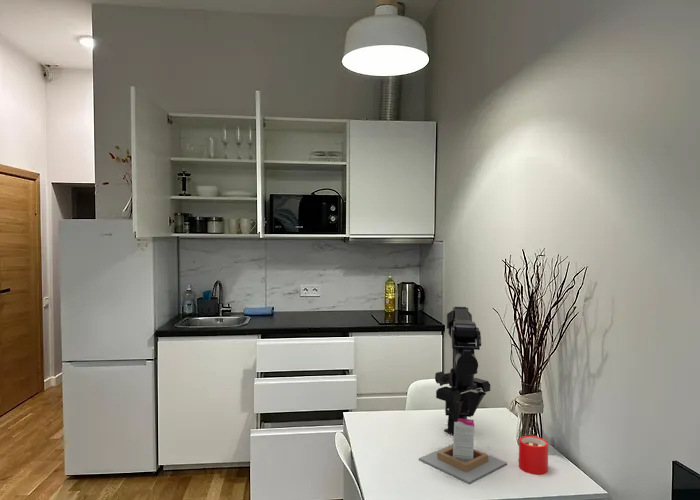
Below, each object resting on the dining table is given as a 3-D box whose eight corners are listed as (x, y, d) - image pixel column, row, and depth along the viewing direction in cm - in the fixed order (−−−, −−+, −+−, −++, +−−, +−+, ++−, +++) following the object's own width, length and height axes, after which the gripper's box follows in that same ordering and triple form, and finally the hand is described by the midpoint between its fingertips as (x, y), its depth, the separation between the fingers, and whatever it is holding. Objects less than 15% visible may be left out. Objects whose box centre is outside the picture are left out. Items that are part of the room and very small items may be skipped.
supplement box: (473, 465, 140) (474, 426, 139) (452, 463, 141) (453, 424, 141) (473, 457, 145) (473, 419, 145) (452, 454, 147) (453, 417, 146)
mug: (549, 459, 146) (550, 433, 145) (546, 477, 135) (547, 449, 135) (521, 454, 149) (522, 428, 149) (516, 471, 138) (517, 443, 138)
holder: (457, 444, 156) (457, 436, 156) (506, 464, 142) (507, 455, 142) (418, 460, 144) (419, 451, 144) (469, 484, 130) (469, 474, 130)
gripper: (461, 356, 154) (460, 404, 155) (422, 365, 143) (421, 418, 143) (491, 363, 146) (490, 414, 146) (452, 373, 134) (451, 429, 134)
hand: (463, 418), depth 143 cm, fingers open, 7 cm apart
